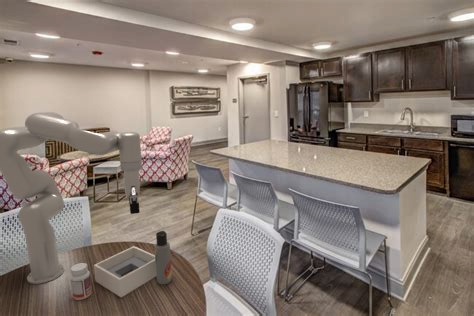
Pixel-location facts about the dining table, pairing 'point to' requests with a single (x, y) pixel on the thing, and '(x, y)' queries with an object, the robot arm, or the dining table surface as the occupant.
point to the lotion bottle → (163, 258)
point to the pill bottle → (80, 281)
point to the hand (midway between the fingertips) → (134, 208)
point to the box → (126, 270)
